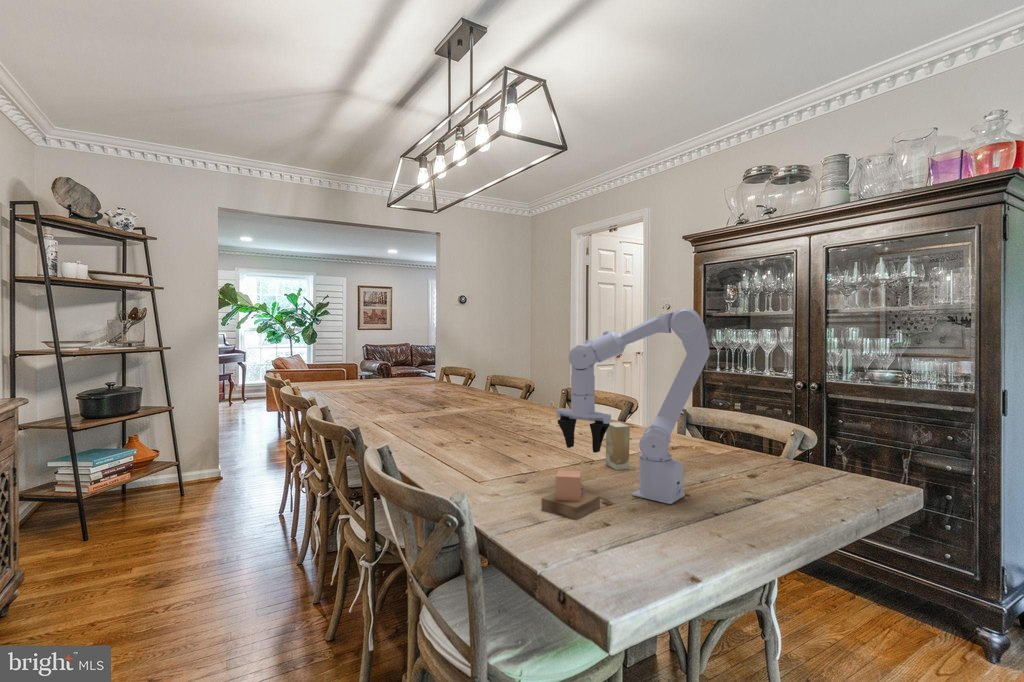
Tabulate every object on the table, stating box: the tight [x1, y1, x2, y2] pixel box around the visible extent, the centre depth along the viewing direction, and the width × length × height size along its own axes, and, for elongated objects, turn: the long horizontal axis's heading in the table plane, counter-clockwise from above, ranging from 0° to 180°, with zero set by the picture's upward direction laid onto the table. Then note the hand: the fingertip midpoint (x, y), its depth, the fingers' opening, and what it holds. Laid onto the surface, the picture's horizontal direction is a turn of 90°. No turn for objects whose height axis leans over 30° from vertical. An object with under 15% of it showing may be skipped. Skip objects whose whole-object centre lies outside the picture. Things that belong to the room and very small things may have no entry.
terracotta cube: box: [555, 469, 582, 501], centre depth 107 cm, size 5×5×5 cm
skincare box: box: [605, 421, 631, 471], centre depth 139 cm, size 6×4×12 cm
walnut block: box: [541, 491, 601, 521], centre depth 106 cm, size 9×9×3 cm
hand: (583, 449), depth 121 cm, fingers open, 7 cm apart
